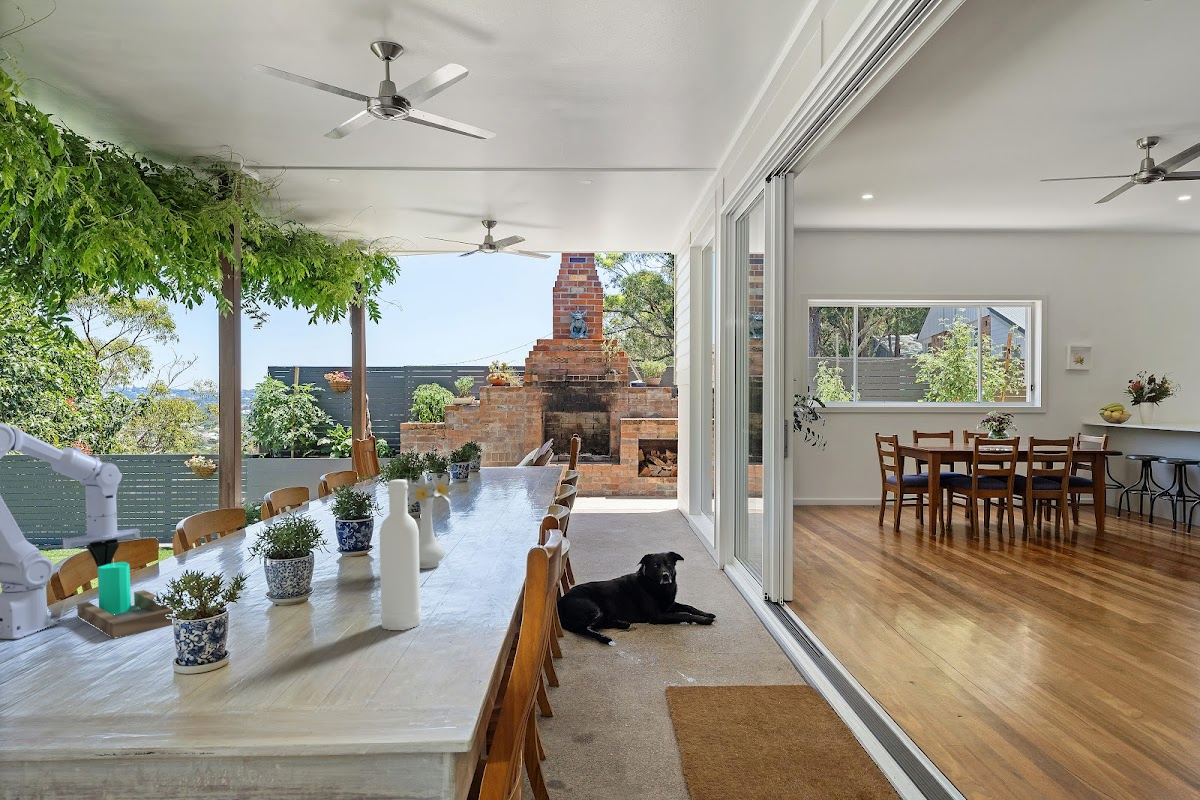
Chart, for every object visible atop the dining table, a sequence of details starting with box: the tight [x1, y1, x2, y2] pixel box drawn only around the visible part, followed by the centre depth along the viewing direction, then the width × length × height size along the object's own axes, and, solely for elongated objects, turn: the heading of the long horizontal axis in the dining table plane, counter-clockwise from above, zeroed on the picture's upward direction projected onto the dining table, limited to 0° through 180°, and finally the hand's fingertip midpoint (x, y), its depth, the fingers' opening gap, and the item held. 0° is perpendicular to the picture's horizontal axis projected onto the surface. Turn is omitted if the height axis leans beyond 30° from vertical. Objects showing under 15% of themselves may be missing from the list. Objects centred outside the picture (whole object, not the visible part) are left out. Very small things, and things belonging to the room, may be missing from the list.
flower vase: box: [387, 473, 458, 570], centre depth 198 cm, size 13×18×25 cm
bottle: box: [378, 478, 422, 631], centre depth 151 cm, size 8×8×30 cm
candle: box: [97, 557, 132, 615], centre depth 163 cm, size 6×6×12 cm
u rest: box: [76, 589, 173, 639], centre depth 157 cm, size 22×13×3 cm, turn 51°
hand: (103, 574), depth 167 cm, fingers closed
